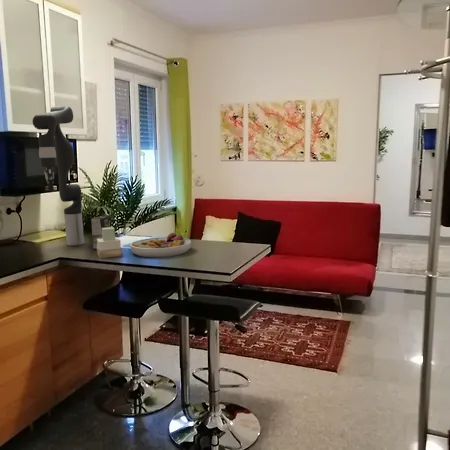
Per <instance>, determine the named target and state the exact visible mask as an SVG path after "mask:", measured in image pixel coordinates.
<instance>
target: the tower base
mask: <svg viewBox="0 0 450 450" xmlns="http://www.w3.org/2000/svg"><path fill="white" fill-rule="evenodd" d="M96 253H97V254H96V255H97V256H98V258H99V259H102V258H103V259H105V258H113V257H121V256H122V247H121V248H120V249H110V250H99V249H98V247H97V249H96Z"/></svg>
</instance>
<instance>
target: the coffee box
mask: <svg viewBox="0 0 450 450" xmlns="http://www.w3.org/2000/svg"><path fill="white" fill-rule="evenodd" d="M110 220H111V219H110V216H105V215H103V216H97V217H92V218H91V219H90V221H91V236H92V248H93V249H96V250H97V239H102V228H108V227H111V225H110V224H111V223H110Z"/></svg>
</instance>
